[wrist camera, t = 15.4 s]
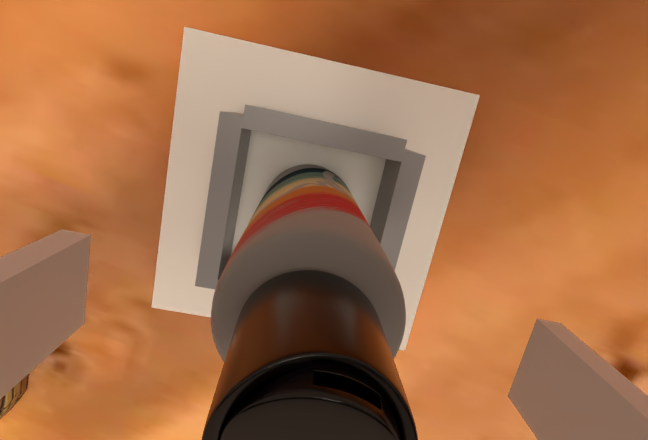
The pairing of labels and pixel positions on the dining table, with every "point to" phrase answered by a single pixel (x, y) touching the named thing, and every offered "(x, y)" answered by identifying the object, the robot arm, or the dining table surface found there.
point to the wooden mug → (12, 397)
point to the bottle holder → (300, 157)
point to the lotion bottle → (308, 322)
